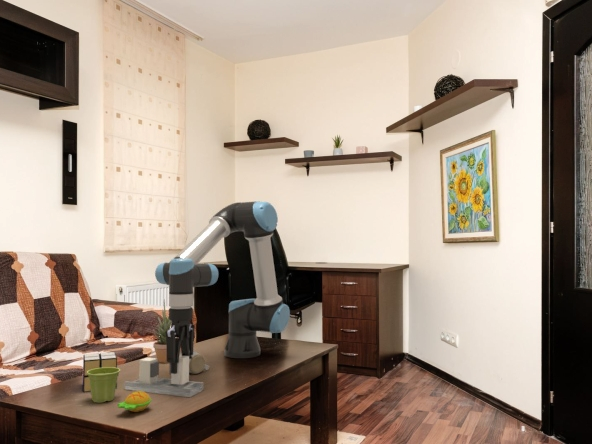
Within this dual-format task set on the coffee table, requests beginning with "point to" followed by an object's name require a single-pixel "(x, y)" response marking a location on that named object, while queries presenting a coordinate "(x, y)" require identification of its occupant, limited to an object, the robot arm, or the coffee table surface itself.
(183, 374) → the beige jaw block
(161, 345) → the potted plant
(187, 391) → the rail
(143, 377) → the block
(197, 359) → the ceramic mug
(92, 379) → the plant pot
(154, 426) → the coffee table surface
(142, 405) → the yellow green oval
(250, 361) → the coffee table surface
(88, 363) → the puzzle cube
